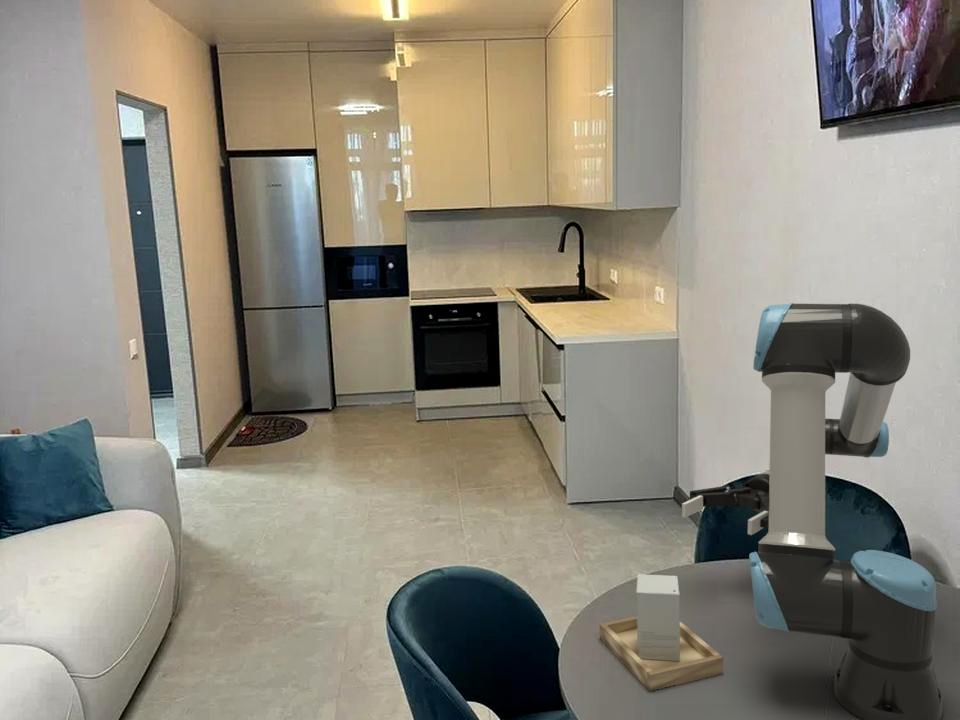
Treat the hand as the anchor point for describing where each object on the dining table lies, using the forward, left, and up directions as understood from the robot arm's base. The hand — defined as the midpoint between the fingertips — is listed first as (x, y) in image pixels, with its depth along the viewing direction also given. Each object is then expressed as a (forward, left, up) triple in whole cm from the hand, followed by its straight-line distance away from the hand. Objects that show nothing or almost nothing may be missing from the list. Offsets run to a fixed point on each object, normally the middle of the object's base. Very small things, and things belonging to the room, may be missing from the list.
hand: (715, 518), depth 147 cm
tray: (-7, +16, -21) cm, 27 cm away
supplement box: (-6, +16, -20) cm, 26 cm away
